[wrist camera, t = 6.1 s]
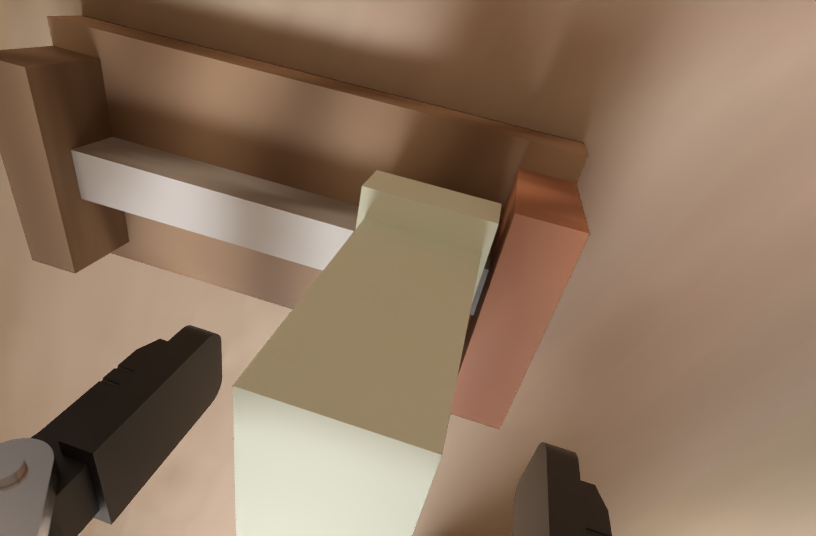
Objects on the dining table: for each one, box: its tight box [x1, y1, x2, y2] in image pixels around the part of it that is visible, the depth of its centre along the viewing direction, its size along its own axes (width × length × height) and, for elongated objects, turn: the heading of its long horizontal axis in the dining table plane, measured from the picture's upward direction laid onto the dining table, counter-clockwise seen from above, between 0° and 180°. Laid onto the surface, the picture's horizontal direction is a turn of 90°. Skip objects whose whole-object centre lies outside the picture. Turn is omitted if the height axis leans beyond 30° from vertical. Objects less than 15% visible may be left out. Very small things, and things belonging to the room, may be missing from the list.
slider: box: [233, 170, 502, 536], centre depth 13 cm, size 4×7×10 cm, turn 169°
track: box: [0, 16, 590, 429], centre depth 17 cm, size 20×10×6 cm, turn 79°
